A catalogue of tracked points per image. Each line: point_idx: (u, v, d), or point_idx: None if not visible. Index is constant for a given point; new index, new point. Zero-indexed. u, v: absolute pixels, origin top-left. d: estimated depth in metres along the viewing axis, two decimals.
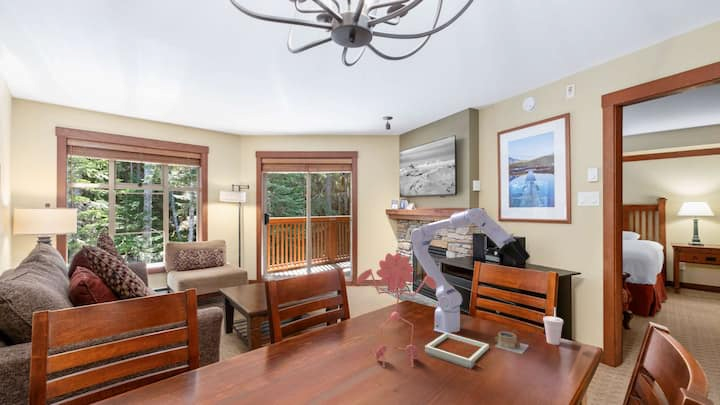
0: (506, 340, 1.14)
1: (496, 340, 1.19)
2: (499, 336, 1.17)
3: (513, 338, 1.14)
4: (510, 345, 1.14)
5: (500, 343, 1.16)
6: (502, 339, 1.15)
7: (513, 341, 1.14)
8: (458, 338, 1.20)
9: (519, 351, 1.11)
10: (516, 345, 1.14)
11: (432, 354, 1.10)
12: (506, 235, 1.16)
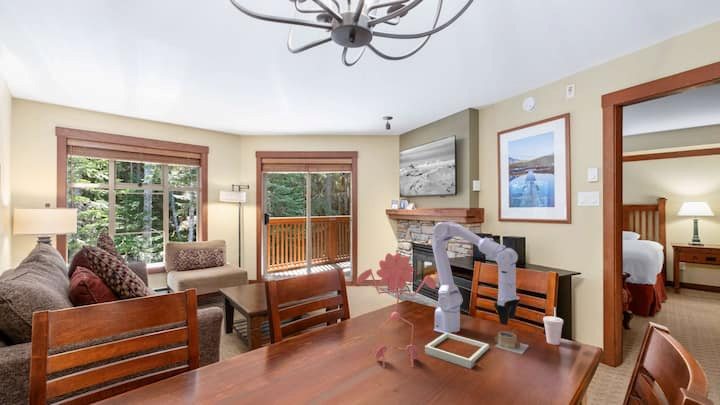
0: (506, 340, 1.14)
1: (496, 340, 1.19)
2: (499, 336, 1.17)
3: (513, 338, 1.14)
4: (510, 345, 1.14)
5: (500, 343, 1.16)
6: (502, 339, 1.15)
7: (513, 341, 1.14)
8: (458, 338, 1.20)
9: (519, 351, 1.11)
10: (516, 345, 1.14)
11: (432, 354, 1.10)
12: (512, 295, 1.14)
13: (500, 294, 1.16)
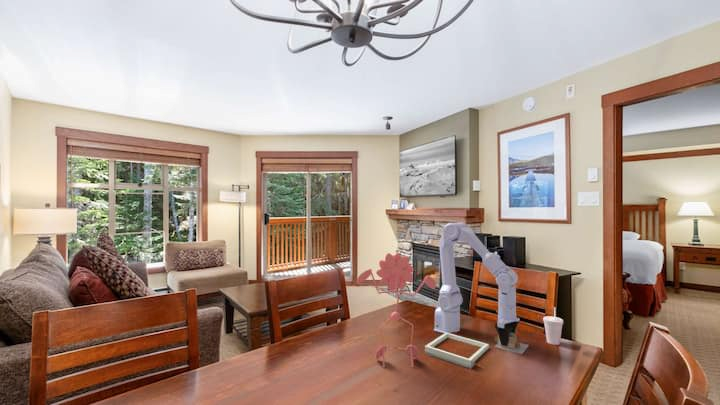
0: None
1: (496, 340, 1.19)
2: None
3: (513, 338, 1.14)
4: (510, 345, 1.14)
5: (500, 343, 1.16)
6: None
7: (513, 341, 1.14)
8: (458, 338, 1.20)
9: (519, 351, 1.11)
10: (516, 345, 1.14)
11: (432, 354, 1.10)
12: (512, 317, 1.14)
13: (500, 315, 1.16)
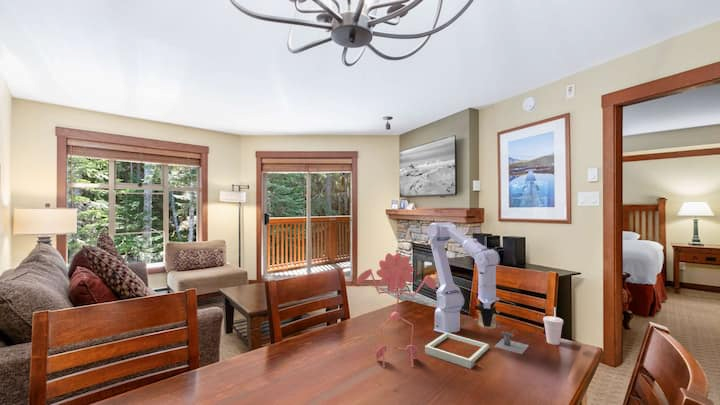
0: None
1: (476, 322, 1.16)
2: (480, 318, 1.14)
3: (494, 318, 1.13)
4: (492, 325, 1.13)
5: (482, 325, 1.14)
6: None
7: (495, 321, 1.13)
8: (458, 338, 1.20)
9: (519, 351, 1.11)
10: (497, 324, 1.14)
11: (432, 354, 1.10)
12: (494, 297, 1.13)
13: (482, 296, 1.14)
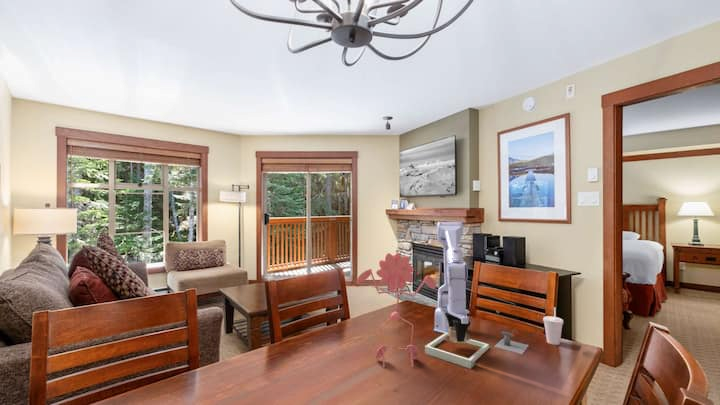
0: None
1: (447, 338, 1.12)
2: (453, 333, 1.11)
3: None
4: (464, 339, 1.11)
5: (455, 340, 1.11)
6: None
7: (466, 334, 1.12)
8: None
9: (519, 351, 1.11)
10: (467, 337, 1.13)
11: (432, 354, 1.10)
12: (465, 310, 1.12)
13: (455, 311, 1.11)
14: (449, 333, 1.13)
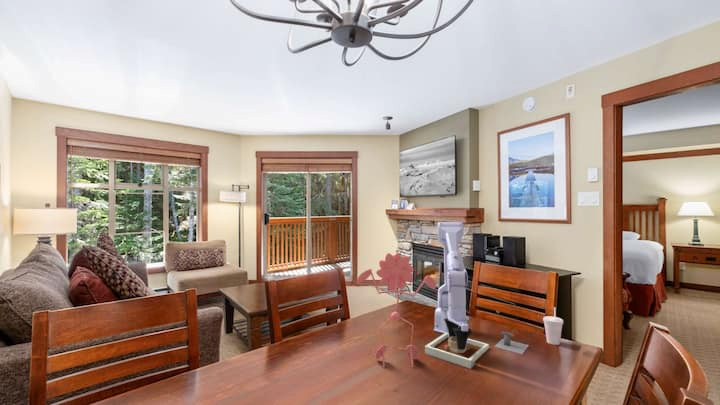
0: None
1: (447, 349, 1.12)
2: (453, 344, 1.11)
3: None
4: (464, 350, 1.11)
5: (455, 351, 1.11)
6: None
7: (466, 345, 1.12)
8: None
9: (519, 351, 1.11)
10: (467, 348, 1.13)
11: (432, 354, 1.10)
12: (465, 317, 1.12)
13: (455, 318, 1.11)
14: (449, 343, 1.13)
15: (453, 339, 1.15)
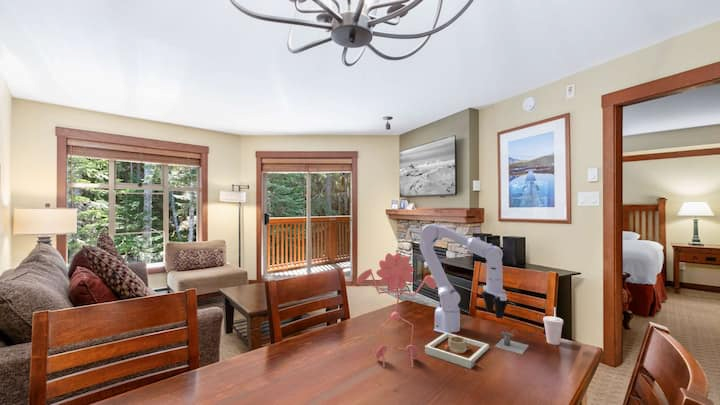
0: (462, 346, 1.10)
1: (447, 349, 1.12)
2: (453, 344, 1.11)
3: (465, 342, 1.12)
4: (464, 350, 1.11)
5: (455, 351, 1.11)
6: (458, 346, 1.10)
7: (466, 345, 1.12)
8: None
9: (519, 351, 1.11)
10: (467, 348, 1.13)
11: (432, 354, 1.10)
12: (502, 289, 1.23)
13: (493, 290, 1.22)
14: (449, 343, 1.13)
15: (453, 339, 1.15)
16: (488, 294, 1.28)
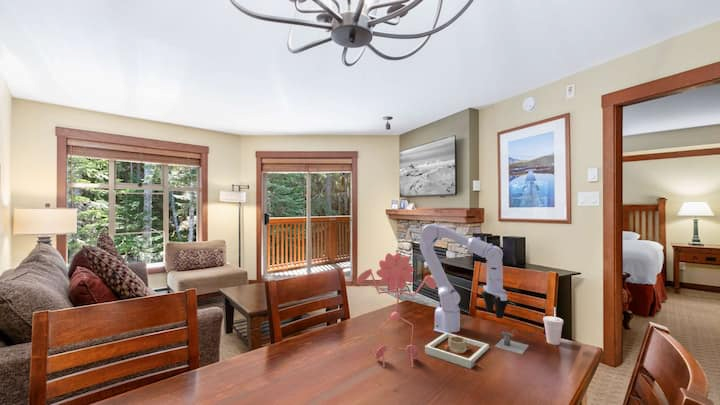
0: (462, 346, 1.10)
1: (447, 349, 1.12)
2: (453, 344, 1.11)
3: (465, 342, 1.12)
4: (464, 350, 1.11)
5: (455, 351, 1.11)
6: (458, 346, 1.10)
7: (466, 345, 1.12)
8: None
9: (519, 351, 1.11)
10: (467, 348, 1.13)
11: (432, 354, 1.10)
12: (502, 289, 1.23)
13: (493, 290, 1.22)
14: (449, 343, 1.13)
15: (453, 339, 1.15)
16: (488, 294, 1.28)
